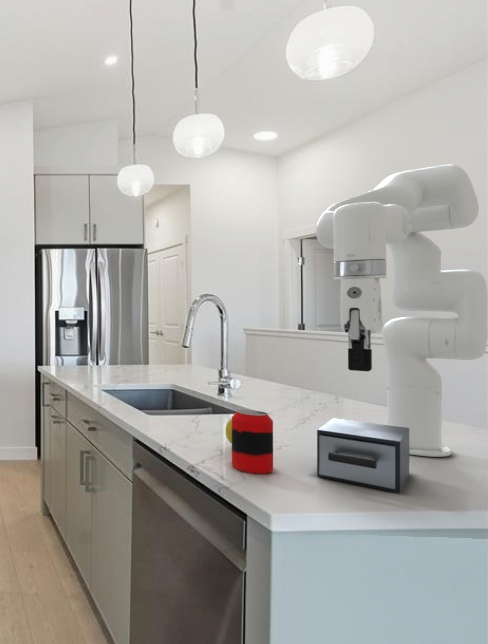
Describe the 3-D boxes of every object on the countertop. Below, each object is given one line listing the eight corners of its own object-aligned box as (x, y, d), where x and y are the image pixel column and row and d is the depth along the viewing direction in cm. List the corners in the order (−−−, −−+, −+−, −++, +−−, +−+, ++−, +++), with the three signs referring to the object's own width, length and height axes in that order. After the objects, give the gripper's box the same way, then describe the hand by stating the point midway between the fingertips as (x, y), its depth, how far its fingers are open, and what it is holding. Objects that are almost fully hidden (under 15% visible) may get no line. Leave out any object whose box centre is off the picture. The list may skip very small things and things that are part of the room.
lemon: (255, 452, 118) (255, 418, 118) (230, 451, 120) (230, 418, 119) (246, 445, 124) (246, 413, 124) (222, 444, 125) (222, 413, 125)
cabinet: (400, 493, 92) (400, 441, 92) (317, 476, 102) (317, 429, 102) (409, 474, 102) (409, 427, 102) (332, 460, 112) (332, 418, 111)
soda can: (280, 475, 103) (279, 416, 103) (240, 473, 104) (240, 416, 104) (263, 463, 110) (263, 409, 110) (226, 462, 111) (226, 408, 111)
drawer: (391, 495, 89) (391, 451, 89) (314, 479, 98) (314, 439, 97) (404, 472, 101) (404, 433, 101) (333, 459, 110) (333, 424, 109)
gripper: (379, 269, 84) (380, 377, 85) (392, 270, 94) (392, 367, 95) (324, 271, 90) (325, 373, 90) (342, 273, 100) (342, 364, 100)
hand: (359, 370), depth 93 cm, fingers closed
